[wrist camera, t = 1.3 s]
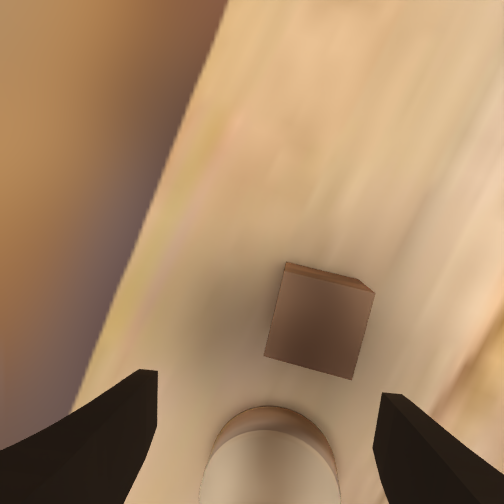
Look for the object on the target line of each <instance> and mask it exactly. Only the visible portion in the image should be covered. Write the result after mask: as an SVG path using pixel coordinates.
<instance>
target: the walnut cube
mask: <svg viewBox="0 0 504 504" xmlns="http://www.w3.org/2000/svg"><path fill="white" fill-rule="evenodd" d="M374 296H375V293H374V292H373V291H372V290H371V289H369V288H368V287H367V286H366V285H364V284H363V283H362V282H361V281H360V280H358V279H354V278H350V277H346V276H342V275H338V274H334V273H330V272H325V271H321V270H317V269H313V268H309V267H305V266H301V265H297V264H292V263H288V262H286V266H285V270H284V274H283V278H282V282H281V286H280V290H279V294H278V299H277V303H276V307H275V311H274V315H273V319H272V323H271V327H270V332H269V336H268V340H267V344H266V348H265V353H264V356H265V357H269V358H273V359H276V360H280V361H283V362H287V363H291V364H294V365H298V366H302V367H305V368H309V369H313V370H316V371H320V372H324V373H327V374H331V375H334V376H338V377H342V378H345V379H349V380H352V377H353V374H354V370H355V366H356V363H357V359H358V355H359V352H360V348H361V344H362V341H363V337H364V333H365V330H366V326H367V322H368V319H369V315H370V311H371V307H372V304H373V300H374Z"/></svg>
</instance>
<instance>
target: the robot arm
mask: <svg viewBox="0 0 504 504" xmlns="http://www.w3.org/2000/svg"><path fill="white" fill-rule="evenodd" d="M157 391H158V371H154V370H144V369H139V370H137V371H135V372H134V373H132V374H131V375H129V376H128V377H126V378H125V379H123V380H122V381H121V382H119V383H118V384H116V385H115V386H113V387H112V388H110V389H109V390H107V391H106V392H104V393H103V394H101V395H100V396H98V397H97V398H95V399H94V400H92V401H91V402H89V403H88V404H86V405H84V406H83V407H81V408H79V409H78V410H76V411H75V412H73V413H71V414H70V415H68V416H66V417H65V418H63V419H61V420H60V421H58V422H56V423H54V424H53V425H51V426H49V427H47V428H46V429H44V430H42V431H40V432H38V433H36V434H34V435H32V436H30V437H28V438H26V439H24V440H22V441H20V442H18V443H16V444H14V445H12V446H10V447H7V448H5V449H3V450H0V504H124V502H125V499H126V497H127V495H128V493H129V491H130V489H131V487H132V485H133V483H134V481H135V479H136V477H137V475H138V473H139V471H140V469H141V467H142V465H143V462H144V460H145V458H146V456H147V453H148V450H149V448H150V445H151V442H152V439H153V436H154V433H155V430H156V427H157ZM373 452H374V456H375V460H376V464H377V468H378V472H379V476H380V480H381V483H382V486H383V489H384V491H385V494H386V497H387V499H388V502H389V504H504V474H502V473H501V472H499V471H498V470H497V469H495V468H494V467H493V466H491V465H490V464H489V463H487V462H486V461H485V460H483V459H482V458H481V457H479V456H478V455H476V454H475V453H474V452H473V451H471V450H470V449H469V448H467V447H466V446H465V445H464V444H462V443H461V442H460V441H459V440H457V439H456V438H455V437H454V436H452V435H451V434H450V433H449V432H448V431H446V430H445V429H444V428H443V427H441V426H440V425H439V424H438V423H437V422H435V421H434V420H433V419H432V418H431V417H429V416H428V415H427V414H426V413H425V412H423V411H422V410H421V409H420V408H419V407H417V406H416V405H415V404H414V403H413V402H411V401H410V400H409V399H407V398H406V397H405V396H403V395H402V394H393V393H383V392H382V396H381V402H380V408H379V413H378V419H377V425H376V431H375V437H374V442H373Z"/></svg>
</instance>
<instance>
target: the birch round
mask: <svg viewBox="0 0 504 504" xmlns="http://www.w3.org/2000/svg"><path fill="white" fill-rule="evenodd" d="M199 504H341V495H340V488H339V482H338V476H337V470H336V464H335V460H334V455H333V453H332V450H331V447H330V445H329V444H328V442H327V440H326V438H325V437H324V435H323V434H322V432H321V431H320V430H319V429H318V428H317V427H316V426H315V425H314V424H313V423H312V422H311V421H310V420H308V419H307V418H305V417H304V416H302V415H300V414H298V413H296V412H294V411H291V410H289V409H285V408H281V407H272V406H265V407H257V408H253V409H249V410H247V411H244V412H242V413H240V414H239V415H237V416H235V417H234V418H233V419H232V420H230V421H229V422H228V423H227V424H226V425H225V427H224V428H223V429H222V430H221V432H220V433H219V435H218V437H217V439H216V441H215V443H214V446H213V449H212V451H211V454H210V457H209V459H208V462H207V465H206V467H205V471H204V474H203V478H202V481H201V485H200V491H199Z"/></svg>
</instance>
